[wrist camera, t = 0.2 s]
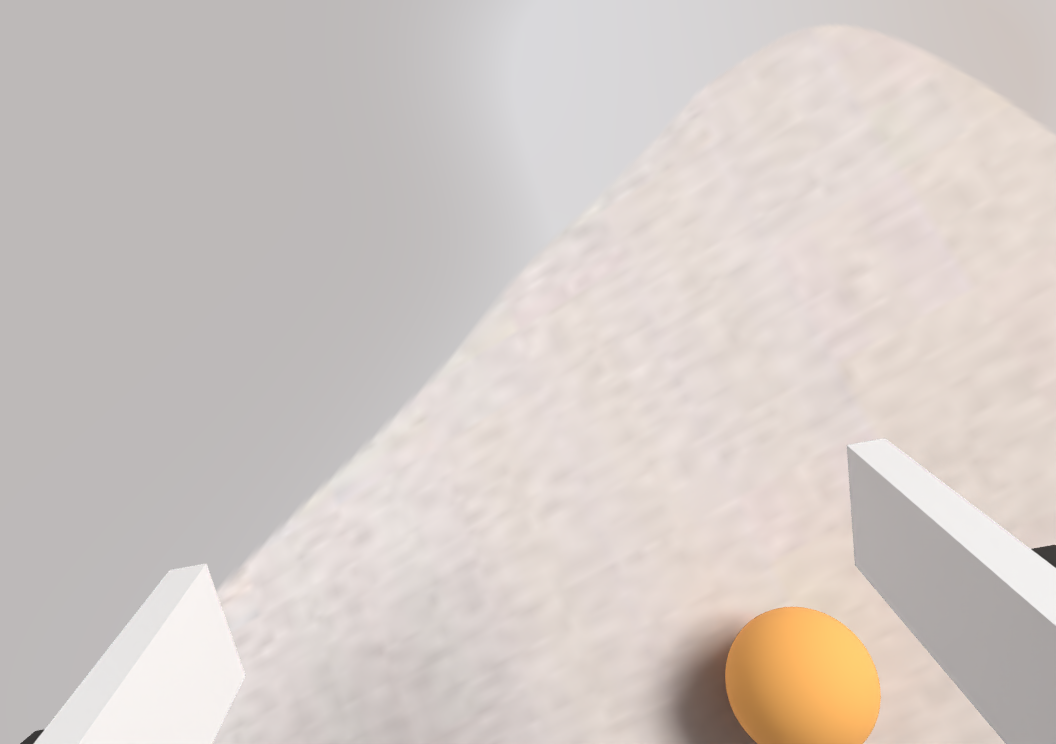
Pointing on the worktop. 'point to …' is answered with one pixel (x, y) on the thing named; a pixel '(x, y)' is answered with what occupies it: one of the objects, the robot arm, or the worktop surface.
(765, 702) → the ball
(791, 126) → the worktop surface
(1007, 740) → the robot arm
